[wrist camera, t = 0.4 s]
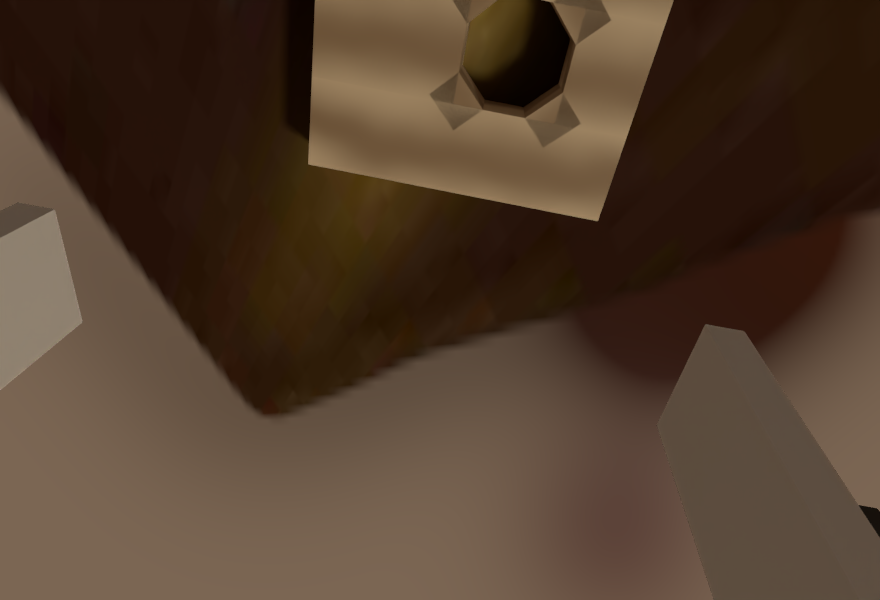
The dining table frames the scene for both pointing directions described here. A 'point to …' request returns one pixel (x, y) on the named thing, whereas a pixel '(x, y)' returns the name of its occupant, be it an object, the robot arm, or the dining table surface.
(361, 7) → the jig
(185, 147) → the dining table surface
